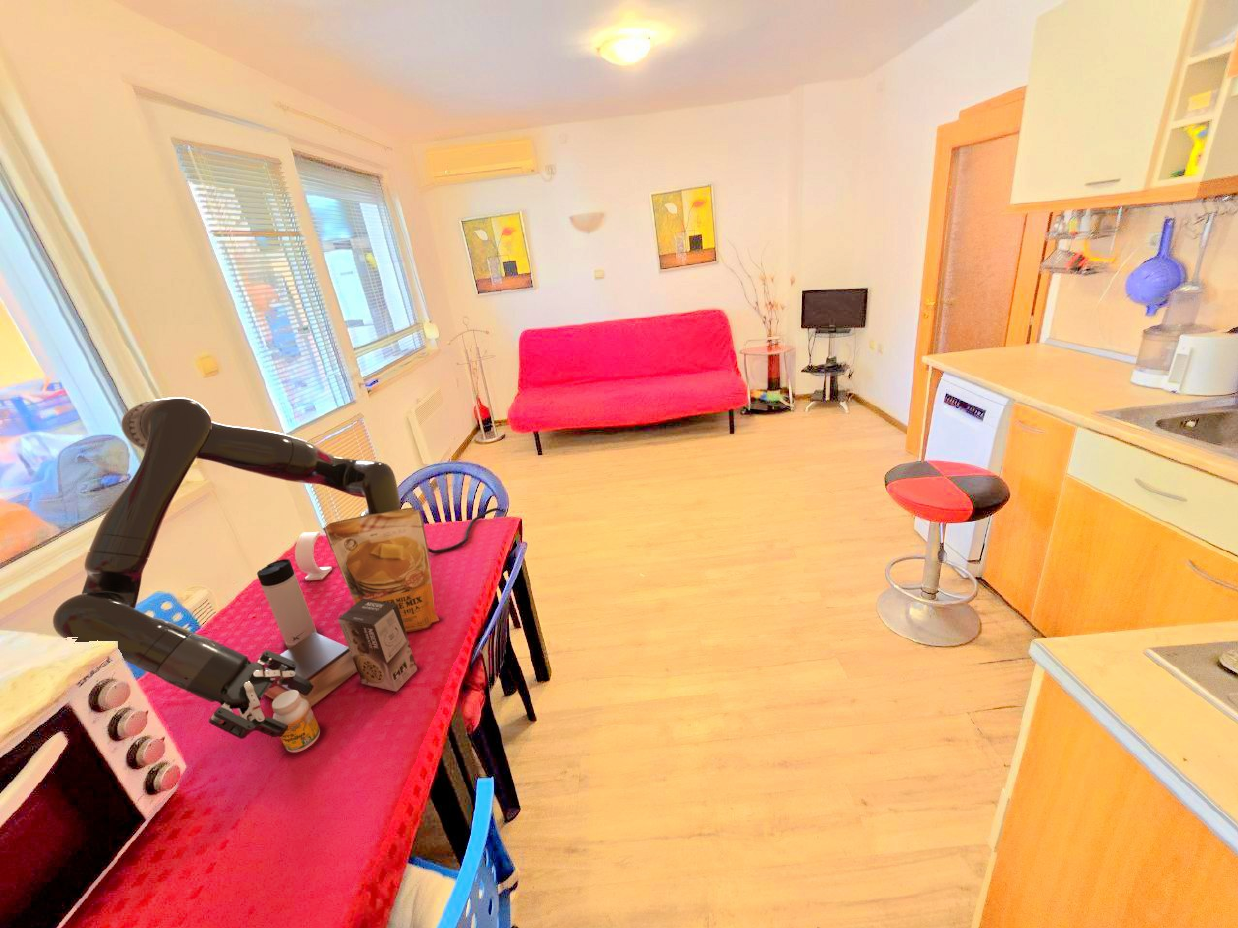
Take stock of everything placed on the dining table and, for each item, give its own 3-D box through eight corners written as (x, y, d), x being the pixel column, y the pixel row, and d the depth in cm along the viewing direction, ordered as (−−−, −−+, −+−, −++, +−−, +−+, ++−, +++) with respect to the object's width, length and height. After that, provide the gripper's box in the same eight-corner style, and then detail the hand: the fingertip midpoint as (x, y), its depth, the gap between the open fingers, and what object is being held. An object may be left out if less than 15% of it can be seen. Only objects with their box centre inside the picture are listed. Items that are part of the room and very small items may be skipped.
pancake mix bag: (362, 624, 117) (326, 517, 107) (447, 608, 120) (420, 503, 110) (354, 644, 111) (316, 532, 101) (443, 626, 114) (415, 516, 104)
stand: (322, 654, 109) (314, 631, 106) (358, 670, 103) (349, 647, 101) (265, 694, 99) (254, 670, 97) (300, 715, 93) (290, 690, 91)
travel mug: (304, 650, 110) (274, 573, 103) (279, 648, 112) (247, 572, 104) (325, 631, 116) (298, 557, 108) (301, 629, 117) (272, 555, 110)
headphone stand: (332, 569, 142) (319, 531, 137) (319, 581, 136) (306, 543, 132) (316, 569, 142) (303, 532, 137) (303, 582, 136) (289, 544, 132)
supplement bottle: (324, 723, 91) (308, 683, 88) (315, 749, 86) (297, 707, 83) (292, 731, 90) (274, 690, 87) (280, 757, 85) (261, 715, 82)
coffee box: (418, 668, 102) (399, 603, 96) (396, 693, 96) (374, 625, 91) (383, 660, 105) (362, 596, 99) (359, 683, 100) (336, 617, 94)
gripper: (181, 685, 74) (287, 732, 78) (241, 622, 87) (328, 665, 92) (159, 717, 75) (263, 761, 80) (221, 650, 89) (308, 691, 93)
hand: (298, 710), depth 86 cm, fingers open, 8 cm apart
